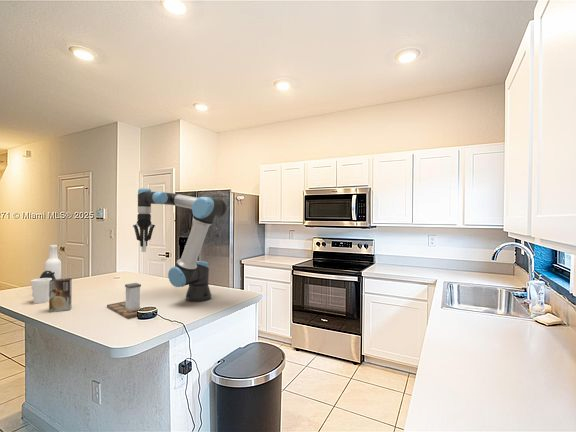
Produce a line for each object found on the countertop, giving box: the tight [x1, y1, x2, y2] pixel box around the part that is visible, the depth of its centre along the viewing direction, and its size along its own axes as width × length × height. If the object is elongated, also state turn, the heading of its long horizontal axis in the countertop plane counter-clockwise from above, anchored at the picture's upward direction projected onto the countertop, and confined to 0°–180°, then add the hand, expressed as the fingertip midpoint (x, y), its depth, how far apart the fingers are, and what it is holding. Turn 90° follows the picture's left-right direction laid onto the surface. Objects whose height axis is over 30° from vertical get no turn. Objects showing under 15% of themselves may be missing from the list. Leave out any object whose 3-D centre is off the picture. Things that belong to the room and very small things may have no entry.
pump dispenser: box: [39, 270, 56, 279], centre depth 192 cm, size 10×10×15 cm
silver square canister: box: [124, 282, 142, 312], centre depth 157 cm, size 6×6×13 cm
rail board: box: [106, 300, 143, 320], centre depth 161 cm, size 28×10×2 cm, turn 49°
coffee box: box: [48, 277, 73, 313], centre depth 161 cm, size 9×6×16 cm
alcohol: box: [44, 244, 62, 279], centre depth 206 cm, size 9×9×30 cm
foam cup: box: [30, 277, 52, 305], centre depth 175 cm, size 10×9×13 cm
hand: (143, 251), depth 188 cm, fingers closed
